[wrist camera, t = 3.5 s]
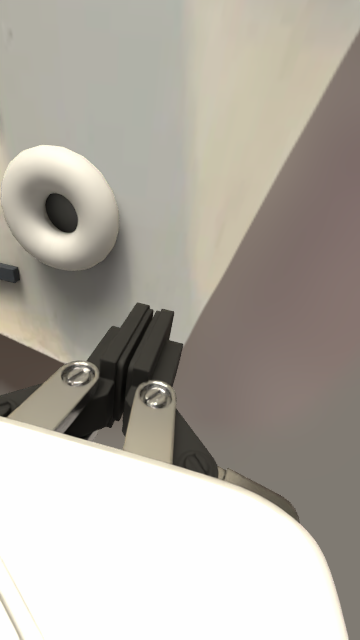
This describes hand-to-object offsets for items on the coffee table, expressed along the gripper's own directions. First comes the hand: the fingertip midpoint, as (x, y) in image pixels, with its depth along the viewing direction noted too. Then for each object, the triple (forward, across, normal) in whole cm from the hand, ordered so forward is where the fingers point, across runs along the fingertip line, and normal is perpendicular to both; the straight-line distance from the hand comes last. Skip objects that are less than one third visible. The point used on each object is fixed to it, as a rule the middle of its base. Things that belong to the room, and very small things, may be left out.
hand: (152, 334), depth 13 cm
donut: (+15, +12, 0) cm, 19 cm away
